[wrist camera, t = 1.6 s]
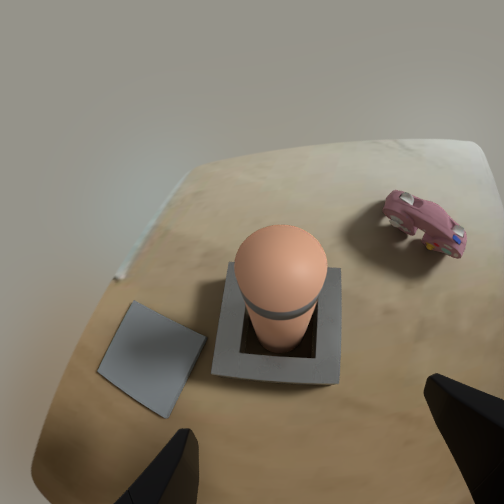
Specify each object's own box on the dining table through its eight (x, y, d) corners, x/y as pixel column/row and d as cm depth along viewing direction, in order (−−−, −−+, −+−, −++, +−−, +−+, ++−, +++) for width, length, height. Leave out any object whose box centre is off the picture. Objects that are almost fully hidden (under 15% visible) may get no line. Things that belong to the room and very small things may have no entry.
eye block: (331, 385, 19) (339, 383, 17) (219, 376, 20) (210, 373, 18) (334, 283, 24) (340, 268, 21) (234, 277, 25) (228, 261, 22)
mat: (207, 338, 22) (205, 336, 22) (168, 418, 19) (165, 418, 18) (136, 302, 24) (133, 300, 24) (100, 372, 21) (97, 371, 20)
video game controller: (373, 226, 28) (378, 208, 22) (390, 191, 28) (398, 166, 21) (444, 270, 24) (468, 265, 18) (459, 234, 24) (484, 220, 18)
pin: (303, 354, 21) (327, 310, 10) (253, 351, 21) (227, 304, 11) (305, 308, 23) (326, 226, 12) (258, 305, 23) (240, 222, 13)
